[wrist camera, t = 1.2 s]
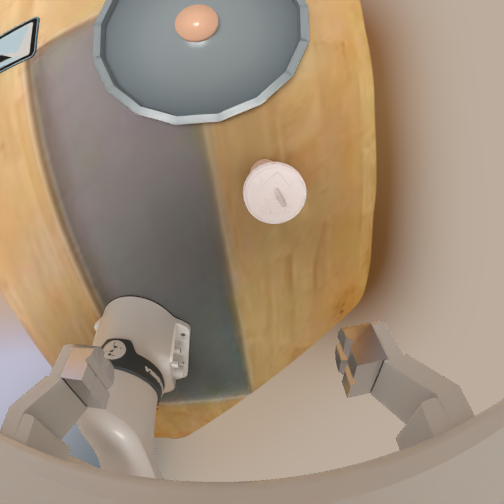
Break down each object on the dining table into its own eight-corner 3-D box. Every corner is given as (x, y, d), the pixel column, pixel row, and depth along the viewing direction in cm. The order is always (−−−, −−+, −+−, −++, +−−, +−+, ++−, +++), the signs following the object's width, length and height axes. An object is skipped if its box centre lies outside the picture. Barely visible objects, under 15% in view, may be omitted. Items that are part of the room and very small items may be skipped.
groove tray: (303, 120, 33) (309, 122, 31) (104, 134, 32) (96, 136, 29) (299, -45, 20) (304, -53, 18) (107, -29, 19) (101, -35, 17)
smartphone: (34, 55, 23) (-25, 86, 22) (38, 56, 24) (-21, 86, 23) (39, 14, 20) (-22, 49, 18) (42, 15, 20) (-19, 49, 19)
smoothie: (290, 150, 35) (324, 176, 23) (286, 196, 38) (314, 244, 26) (240, 147, 34) (247, 172, 22) (238, 195, 37) (244, 244, 25)
